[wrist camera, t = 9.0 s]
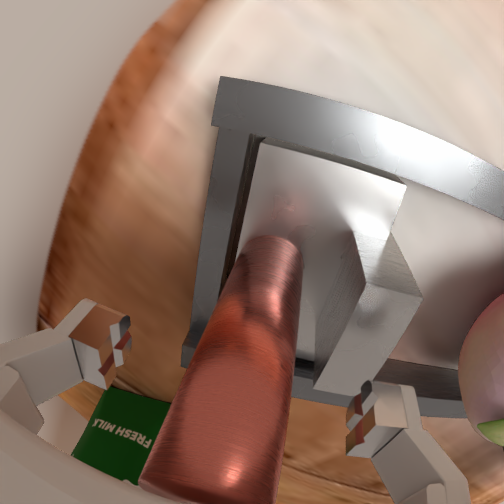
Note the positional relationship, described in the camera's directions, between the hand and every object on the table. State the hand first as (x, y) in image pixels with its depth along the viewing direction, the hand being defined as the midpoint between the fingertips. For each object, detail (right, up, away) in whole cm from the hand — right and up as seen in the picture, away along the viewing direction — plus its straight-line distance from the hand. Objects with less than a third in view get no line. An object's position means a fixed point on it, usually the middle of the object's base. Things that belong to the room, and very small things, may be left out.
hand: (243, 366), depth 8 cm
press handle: (+3, +3, +6) cm, 8 cm away
